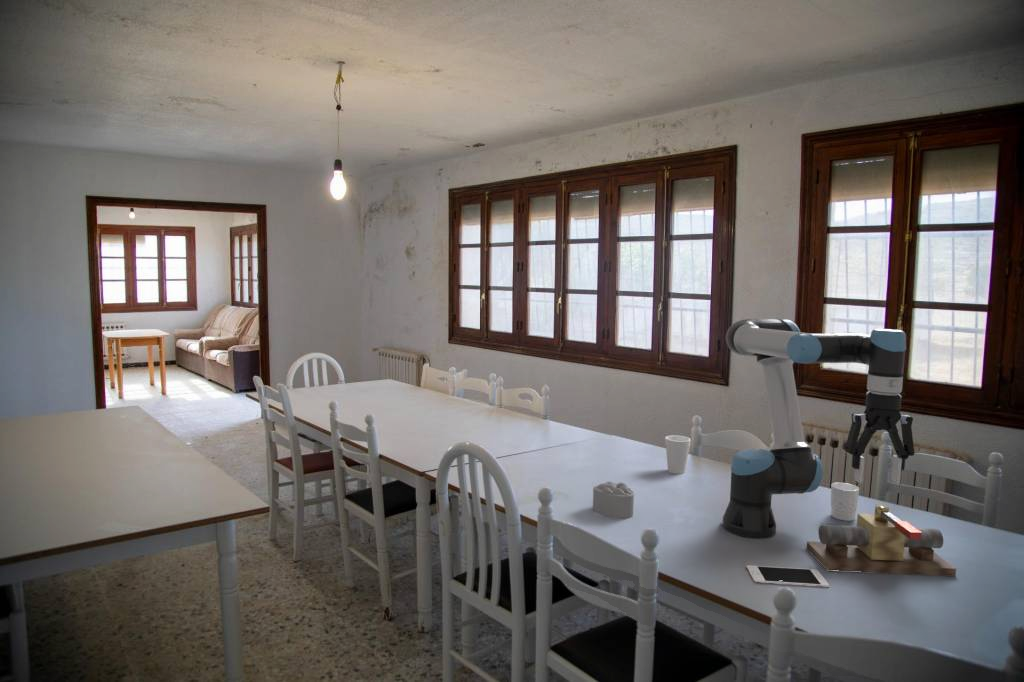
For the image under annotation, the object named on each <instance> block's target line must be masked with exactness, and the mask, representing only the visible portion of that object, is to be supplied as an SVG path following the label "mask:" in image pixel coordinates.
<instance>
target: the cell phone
mask: <svg viewBox="0 0 1024 682" xmlns="http://www.w3.org/2000/svg"><path fill="white" fill-rule="evenodd" d="M745 567H747V568H748V570H749V572H750V574H751V575H752V577H753V579H754V580H755V581H761V582H764V581H766V582H777V581H779V580H783V581H782V582H784V583H790V584H804V585H816V586H829V587H830V584H829V582H828V581H827V580H826V578H824V576H823V575H822V574H821V572H820V571H819V570H818V569H815V568H799V567H798V568H797V567H781V566H769V565H767V566H765V565H752V564H751V565H746V566H745ZM748 570H747V571H748ZM749 572H748V573H749ZM750 574H749V575H750ZM753 579H752V580H753Z"/></svg>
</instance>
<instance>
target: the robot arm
mask: <svg viewBox="0 0 1024 682" xmlns="http://www.w3.org/2000/svg"><path fill="white" fill-rule="evenodd" d="M725 341H726V345H727V347H728V348H729V350H730V351H731V352H733V353H734V354H737V355H740V356H746V357H747V356H748V357H756V363H757V365H758V366H759V367H762V369H763V375H764V384H765V389H766V390H765V391H766V397H767V402H768V410H769V411H768V412H769V417H770V419H769V420H770V424H771V425H770V426H771V432H772V438H773V445H772V446H771V447H770V448H769V450H767V449H762V448H759V449H757V448H749V449H743V450H740V451H738V452H736V453H734V455H733V456H732V461H731V467H730V471H731V472H730V474H731V475H730V476H731V477H730V491H729V492H730V494H729V502H728V504H727V507H726V509H725V511H724V514H723V516H722V527H723V528H724V529H725V530H726V531H728V532H729V533H732V534H734V535H736V536H741V537H746V538H752V539H764V538H765V539H767V538H770V537H773V536H775V535H776V533H777V523H776V520H775V515H774V512H773V508H772V497H773V495H792V494H798V495H799V494H806V493H811V492H814V491H816V490H818V488H819V487H820V484H822V482H823V481H822V480H823V476H824V467H823V463H822V460H821V459H820V457H819V456H818V455H817V454H815V453H814V452H812V447H811V446H810V445H809V444H808V443H807V442H806V441H805V438H804V432H803V424H802V418H801V412H800V405H799V399H798V398H799V397H798V392H797V386H796V379H795V373H794V369H793V365H794V363H796V364H803V365H804V364H805V365H810V364H828V363H829V364H843V363H844V364H852V363H854V364H861V365H866V366H868V370H867V381H866V382H867V383H866V389H867V391H866V395H865V410H864V412H863V413H859V414H857V413H851V425H850V428H849V433H848V436H847V440H846V443H845V446H844V451H845V452H846V453H848V454H850V455H852V457H851V467H852V468H853V469H854V477H853V478H854V479H853V480H854V481H855V482H857V483H859V484H863V481H864V468H865V467H864V466H865V457H864V456H863V455H862V454H863V453H864V451H865V450H866V448H867V446H868V444H869V443H870V441H871V440H872V438H873V435H874V434H875V433H877V431H883V430H884V431H886V432H887V433H888V436H889V438H890V440H891V443H892V445H893V449H894V451H895V453H896V455H895V454H894V455H892V463H891V476H890V481H891V482H893V483H894V484H896V485H900V484H901V477H902V471H904V470H905V469H906V468H905V466H906V460H908V459H909V457H910V456H911V457H913V456H915V446H914V445H915V444H914V438H913V430H912V424H913V421H914V418H913V417H912V416H910V415H909V414H901V411H900V410H901V407H902V398H903V397H902V395H901V393H902V392H903V384H904V383H903V379H904V371H905V360H906V359H905V358H906V351H907V335H906V332H905V331H903V330H901V329H891V328H874V329H872V330H871V334H864V333H859V332H856V331H854V332H853V331H851V332H850V331H845V332H842V333H810V332H801V330H800V328H799V327H798V325H797V323H794V322H793V321H792V320H790V319H782V318H762V319H759V318H758V319H757V318H755V319H754V318H747V319H741V320H738V321H736V322H734V323H733V324H732V325H730V326H729V328H728V329H727V331H726V334H725ZM864 420H865V421H866V423H865V425H864V428H863V430H862V433H861V429H862V424H863V423H864ZM899 422H900V428H901V435H902V436H901V438H902V439H901V438H900V434H899V430H898V427H897V425H896V424H898V423H899ZM860 433H861V435H860Z"/></svg>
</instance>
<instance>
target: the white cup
mask: <svg viewBox="0 0 1024 682" xmlns="http://www.w3.org/2000/svg"><path fill="white" fill-rule="evenodd" d="M830 485H831V487H830V507H831V508H830V509H831V510H830V515H831V517H833V518H834V519H836V520H839V521H847V522H848V521H849V522H851V521H854V520H856V512H857V508H858V503H859V495H860V487H858V486H857V485H855V484H851V483H847V482H838V481H837V482H833V483H831V484H830Z"/></svg>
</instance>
